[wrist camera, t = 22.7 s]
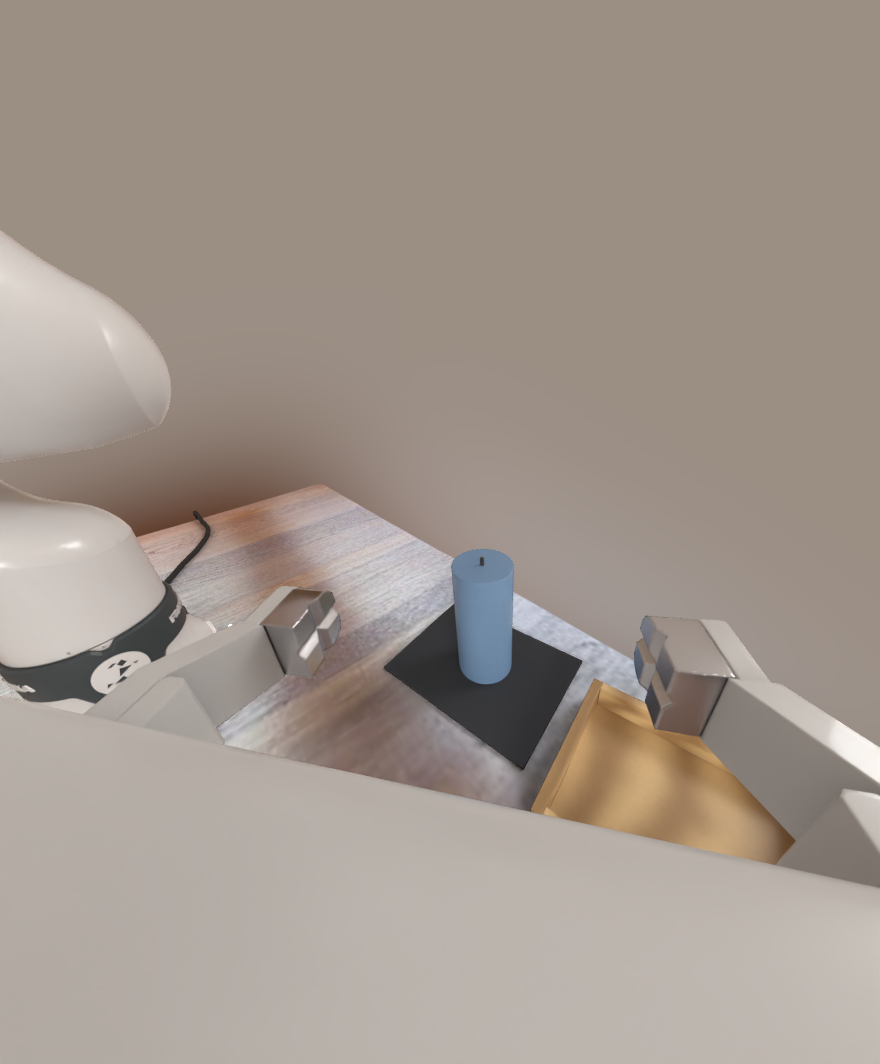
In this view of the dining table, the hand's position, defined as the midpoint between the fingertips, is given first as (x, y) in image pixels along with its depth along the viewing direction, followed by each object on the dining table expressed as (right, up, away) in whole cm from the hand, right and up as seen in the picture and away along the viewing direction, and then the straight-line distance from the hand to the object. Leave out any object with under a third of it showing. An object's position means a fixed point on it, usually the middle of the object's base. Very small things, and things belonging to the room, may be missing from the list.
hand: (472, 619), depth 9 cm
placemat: (+4, -13, +30) cm, 33 cm away
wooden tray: (+16, -19, +16) cm, 30 cm away
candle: (+4, -13, +30) cm, 33 cm away
